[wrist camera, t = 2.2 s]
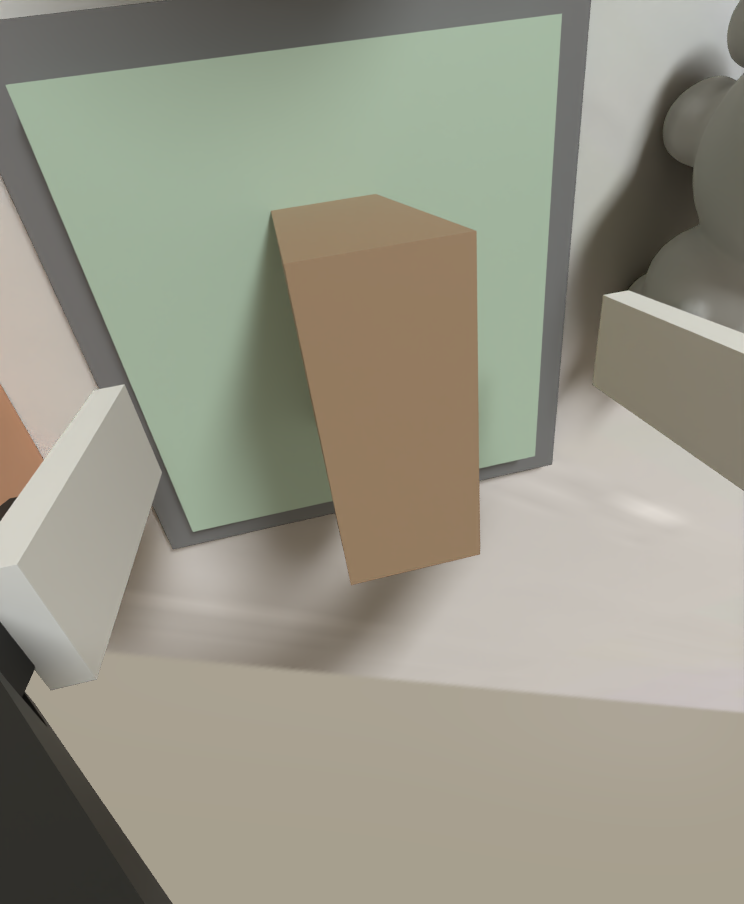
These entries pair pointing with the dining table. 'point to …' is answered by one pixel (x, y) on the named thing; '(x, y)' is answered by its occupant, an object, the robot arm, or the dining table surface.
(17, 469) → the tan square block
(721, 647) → the dining table surface
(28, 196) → the mat
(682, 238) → the round bodied animal figurine
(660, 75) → the dining table surface
